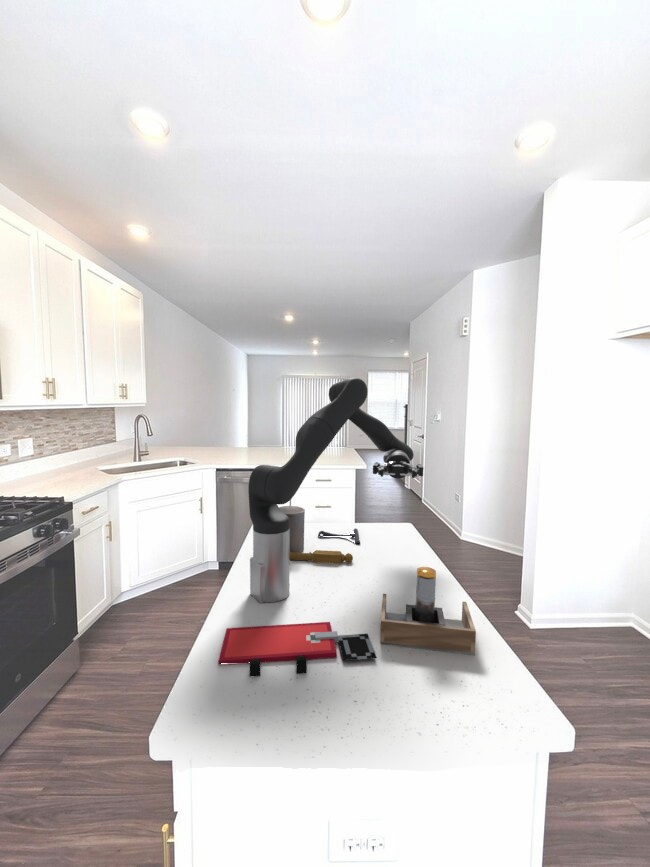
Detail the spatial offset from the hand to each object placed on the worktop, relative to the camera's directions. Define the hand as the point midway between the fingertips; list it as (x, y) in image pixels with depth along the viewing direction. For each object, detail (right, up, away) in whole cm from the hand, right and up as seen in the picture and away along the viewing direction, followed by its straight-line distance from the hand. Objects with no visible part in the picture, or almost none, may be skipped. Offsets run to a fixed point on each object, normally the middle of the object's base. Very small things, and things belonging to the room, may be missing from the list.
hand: (397, 473), depth 109 cm
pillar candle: (-32, -28, +24) cm, 48 cm away
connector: (+2, -32, -22) cm, 39 cm away
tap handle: (-26, -29, +15) cm, 42 cm away
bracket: (-15, -28, +37) cm, 48 cm away
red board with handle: (-25, -33, -29) cm, 51 cm away
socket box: (+2, -32, -22) cm, 39 cm away
